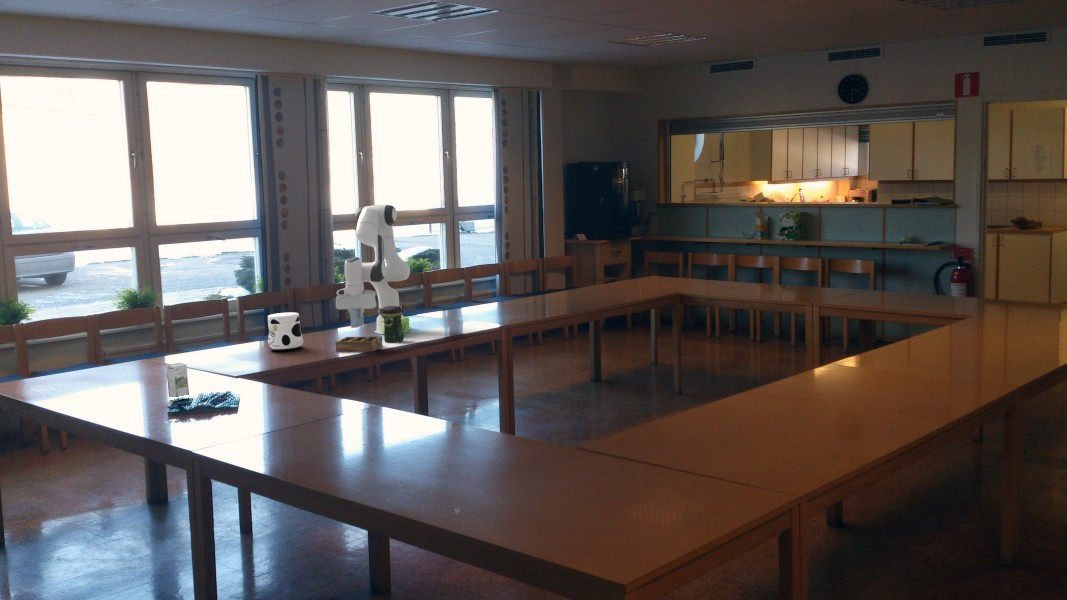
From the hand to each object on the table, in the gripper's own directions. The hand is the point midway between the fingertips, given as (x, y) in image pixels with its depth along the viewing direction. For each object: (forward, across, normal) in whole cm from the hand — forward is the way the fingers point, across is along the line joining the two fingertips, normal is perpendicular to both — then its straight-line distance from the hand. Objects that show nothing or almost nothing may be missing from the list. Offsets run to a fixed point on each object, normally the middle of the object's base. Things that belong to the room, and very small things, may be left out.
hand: (357, 317), depth 472 cm
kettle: (+16, -6, -36) cm, 40 cm away
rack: (+16, 0, 0) cm, 16 cm away
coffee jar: (+16, -11, -20) cm, 28 cm away
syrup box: (+16, +34, +105) cm, 111 cm away
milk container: (+16, +40, -1) cm, 43 cm away
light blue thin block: (+4, 0, 0) cm, 4 cm away
